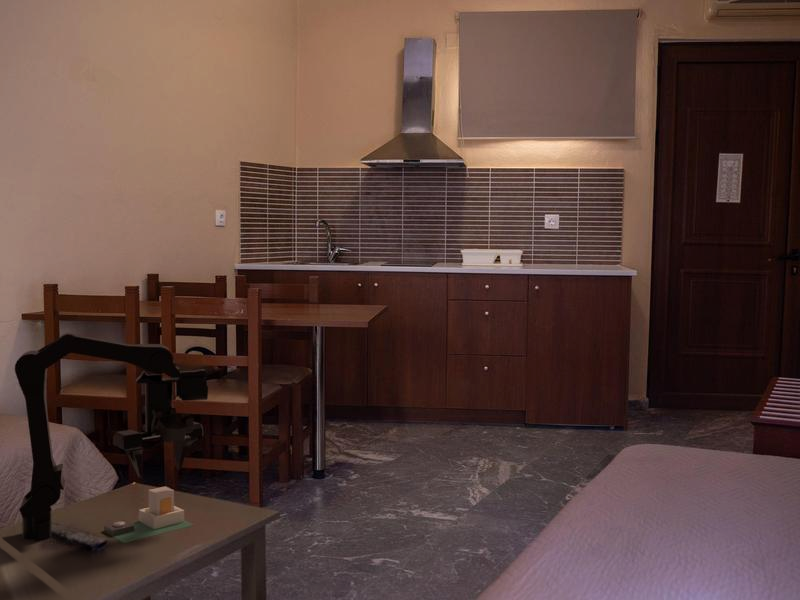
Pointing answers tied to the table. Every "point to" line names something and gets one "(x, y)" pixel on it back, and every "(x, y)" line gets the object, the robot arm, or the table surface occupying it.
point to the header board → (154, 525)
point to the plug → (161, 501)
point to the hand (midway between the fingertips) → (159, 472)
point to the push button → (119, 528)
